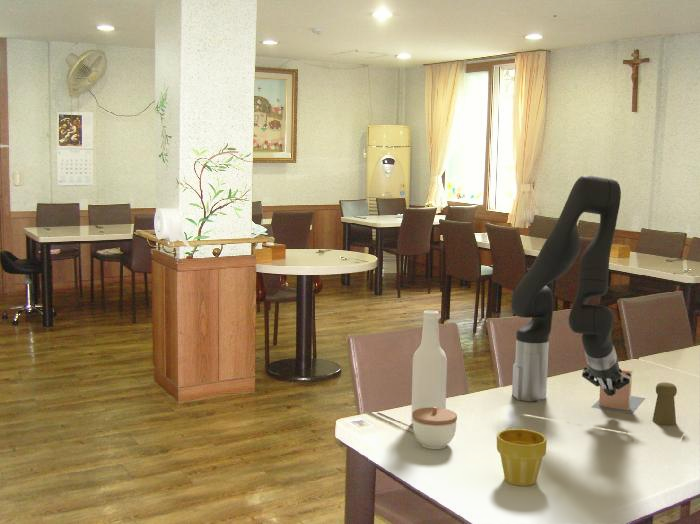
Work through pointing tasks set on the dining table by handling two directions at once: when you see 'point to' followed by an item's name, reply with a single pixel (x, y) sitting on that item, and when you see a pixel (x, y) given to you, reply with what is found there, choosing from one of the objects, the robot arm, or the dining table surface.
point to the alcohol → (429, 367)
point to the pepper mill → (665, 404)
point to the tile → (617, 396)
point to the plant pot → (521, 455)
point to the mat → (633, 406)
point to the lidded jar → (434, 426)
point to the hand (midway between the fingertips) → (610, 392)
